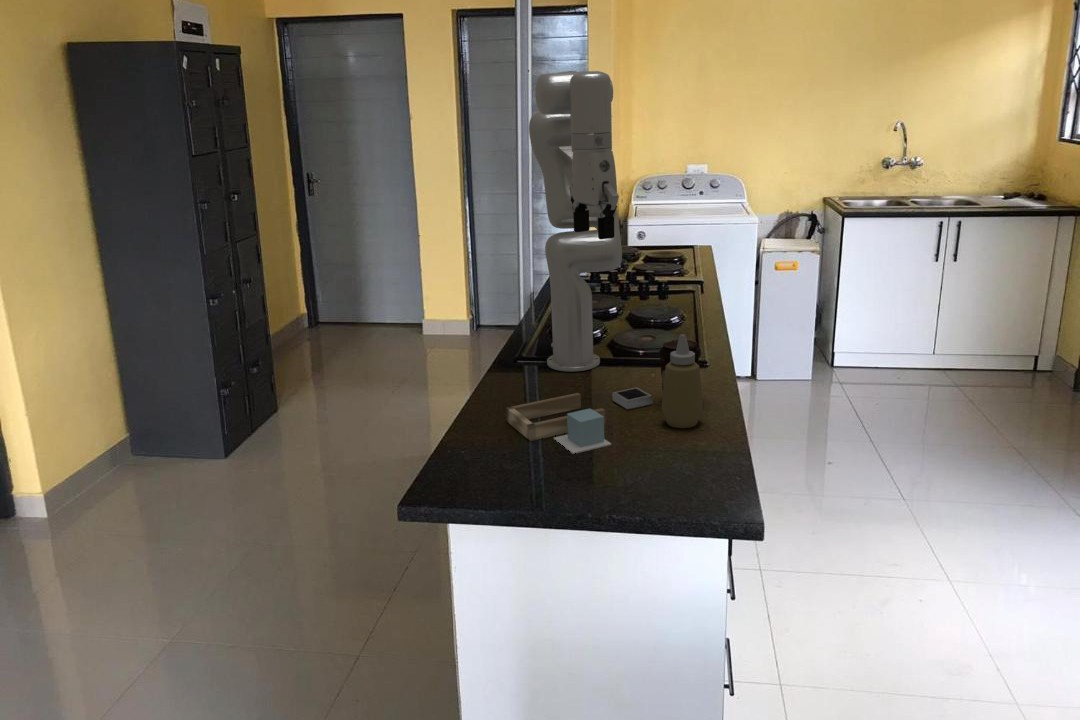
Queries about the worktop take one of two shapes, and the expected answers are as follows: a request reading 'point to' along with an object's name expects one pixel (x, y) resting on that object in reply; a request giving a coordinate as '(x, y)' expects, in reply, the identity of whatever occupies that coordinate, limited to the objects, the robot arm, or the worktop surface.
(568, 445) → the mat
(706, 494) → the worktop surface
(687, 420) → the squeeze bottle
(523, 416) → the cubby
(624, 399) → the tray
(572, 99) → the robot arm
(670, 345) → the coffee cup
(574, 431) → the blue block
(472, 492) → the worktop surface
